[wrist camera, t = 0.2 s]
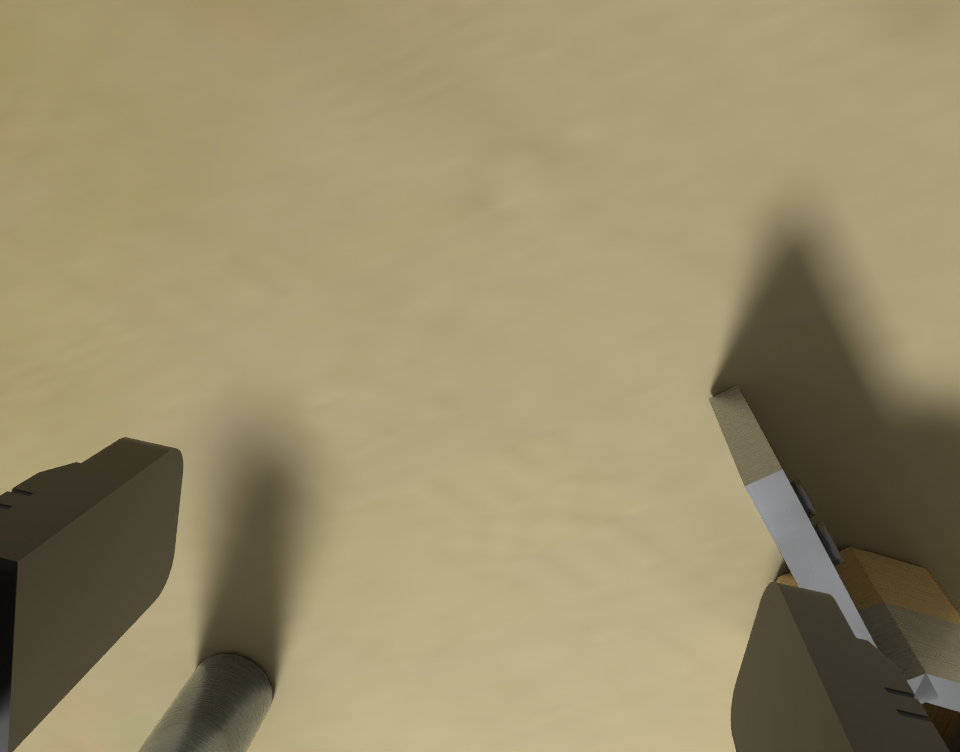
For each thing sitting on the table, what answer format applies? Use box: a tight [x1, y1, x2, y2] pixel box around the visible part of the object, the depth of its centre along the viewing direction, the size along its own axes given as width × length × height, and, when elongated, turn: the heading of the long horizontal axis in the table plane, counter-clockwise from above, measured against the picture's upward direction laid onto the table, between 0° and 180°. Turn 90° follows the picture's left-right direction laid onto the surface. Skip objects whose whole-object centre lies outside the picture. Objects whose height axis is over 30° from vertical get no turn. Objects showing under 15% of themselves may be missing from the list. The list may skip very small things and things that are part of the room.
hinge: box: [709, 385, 960, 752], centre depth 27 cm, size 20×6×7 cm, turn 30°
